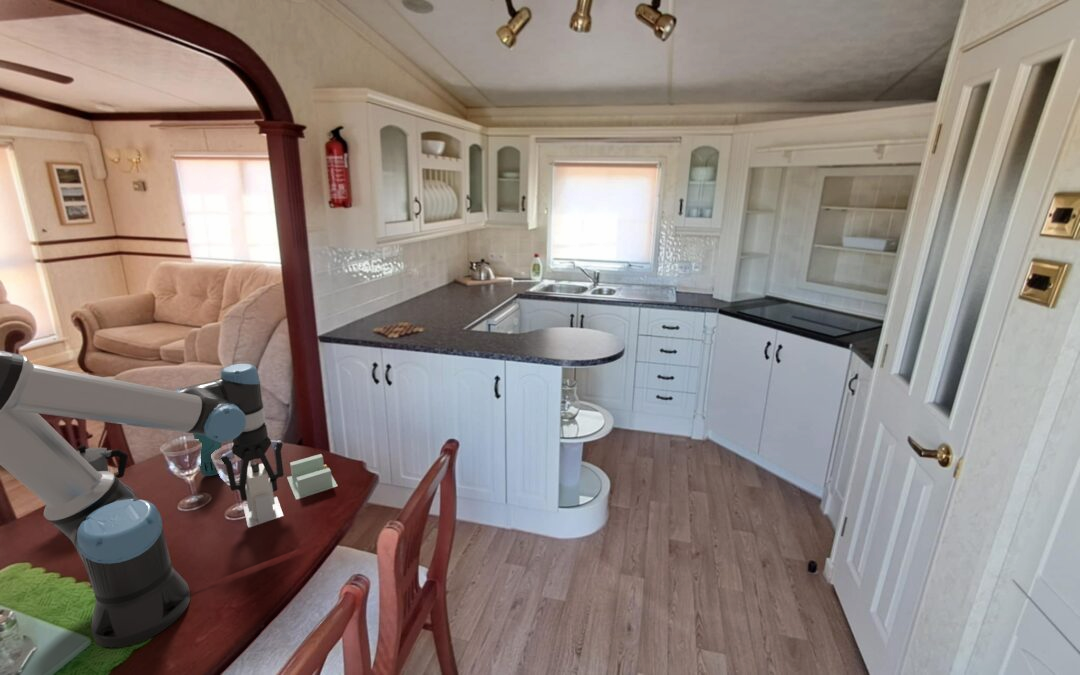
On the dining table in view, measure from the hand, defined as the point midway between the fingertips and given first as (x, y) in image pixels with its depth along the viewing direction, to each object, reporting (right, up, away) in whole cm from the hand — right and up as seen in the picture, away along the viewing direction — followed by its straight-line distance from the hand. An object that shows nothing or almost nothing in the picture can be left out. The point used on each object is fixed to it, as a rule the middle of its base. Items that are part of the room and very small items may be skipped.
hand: (261, 505), depth 124 cm
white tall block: (0, -2, 0) cm, 2 cm away
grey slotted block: (0, -3, +1) cm, 3 cm away
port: (+7, +1, +14) cm, 16 cm away
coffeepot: (-45, -1, +3) cm, 45 cm away
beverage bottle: (-25, +3, +18) cm, 31 cm away
